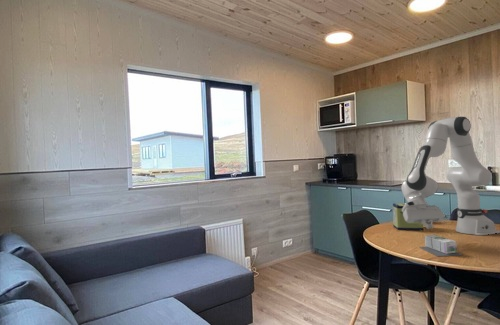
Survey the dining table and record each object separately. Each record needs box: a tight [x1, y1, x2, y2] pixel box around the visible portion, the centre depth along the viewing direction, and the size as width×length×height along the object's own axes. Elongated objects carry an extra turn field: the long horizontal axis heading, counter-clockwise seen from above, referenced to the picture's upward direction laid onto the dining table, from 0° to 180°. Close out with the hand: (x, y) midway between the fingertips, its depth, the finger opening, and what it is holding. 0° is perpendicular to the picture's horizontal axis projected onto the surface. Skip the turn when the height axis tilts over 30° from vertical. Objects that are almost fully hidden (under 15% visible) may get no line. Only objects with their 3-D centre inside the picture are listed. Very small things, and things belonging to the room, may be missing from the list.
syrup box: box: [424, 234, 458, 254], centre depth 157 cm, size 6×6×14 cm
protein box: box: [392, 202, 424, 231], centre depth 205 cm, size 10×16×16 cm
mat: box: [419, 246, 463, 257], centre depth 156 cm, size 12×15×1 cm
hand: (430, 227), depth 163 cm, fingers closed
